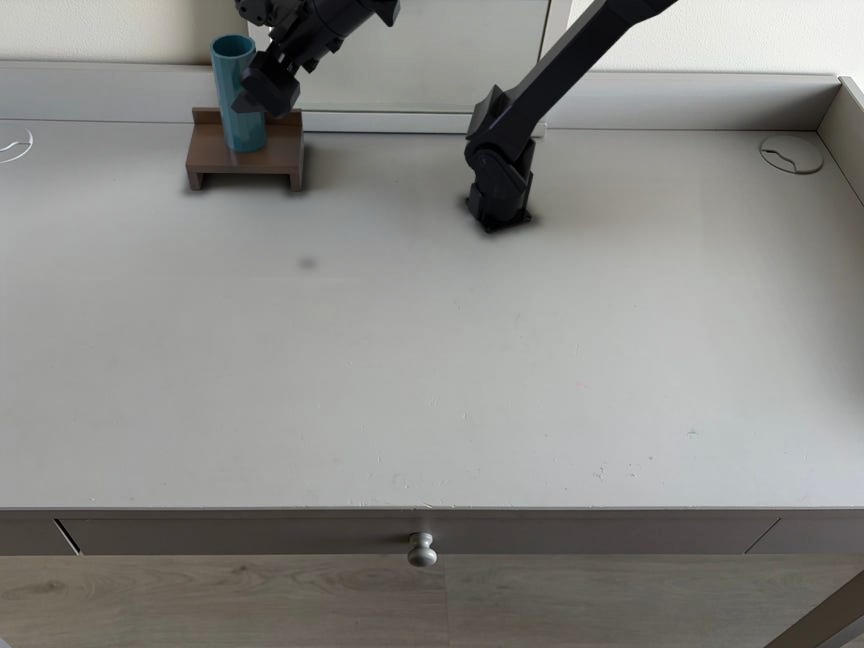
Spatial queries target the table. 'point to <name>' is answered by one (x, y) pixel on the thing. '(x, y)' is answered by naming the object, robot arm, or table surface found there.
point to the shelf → (273, 157)
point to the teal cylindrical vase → (235, 92)
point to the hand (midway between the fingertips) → (247, 87)
